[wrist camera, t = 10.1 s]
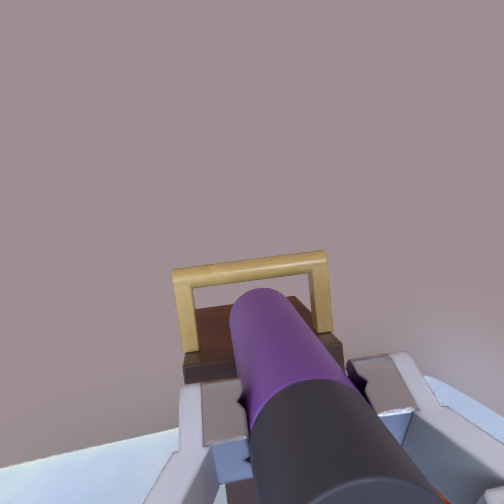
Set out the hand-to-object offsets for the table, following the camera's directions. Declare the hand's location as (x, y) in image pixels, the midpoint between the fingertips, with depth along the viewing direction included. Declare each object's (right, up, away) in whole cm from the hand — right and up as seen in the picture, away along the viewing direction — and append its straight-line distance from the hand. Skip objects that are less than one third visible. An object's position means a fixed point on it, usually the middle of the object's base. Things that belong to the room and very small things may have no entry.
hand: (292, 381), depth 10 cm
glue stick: (0, -2, +1) cm, 2 cm away
